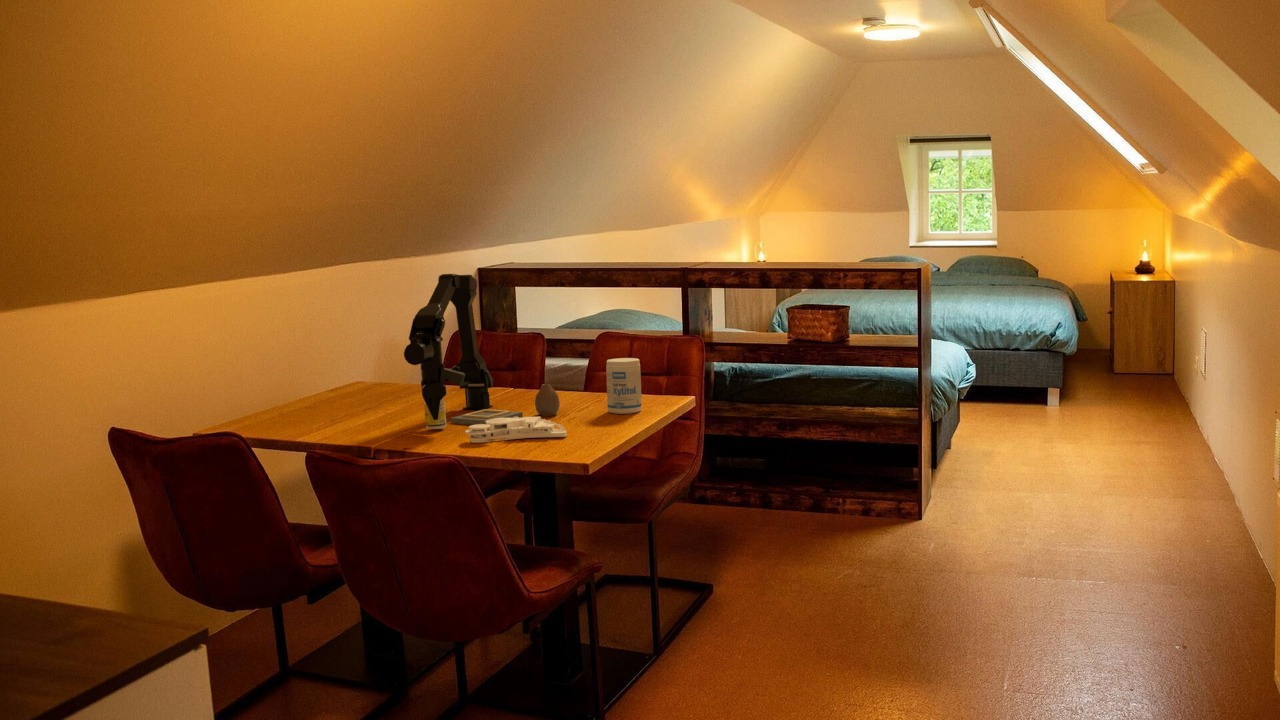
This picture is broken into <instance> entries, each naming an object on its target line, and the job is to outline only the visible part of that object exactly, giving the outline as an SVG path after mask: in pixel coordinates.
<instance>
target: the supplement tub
mask: <svg viewBox="0 0 1280 720" xmlns="http://www.w3.org/2000/svg"><path fill="white" fill-rule="evenodd" d="M605 368H606V369H605V370H606V371H605V373H606V395H607V396H606V398H607V401H606V404H607V411H608V412H609V413H611V414H615V415H616V414H617V415H619V414H620V415H629V414H630V415H631V414H633V413H634V414H635V413H639V412H640V411H641V410H642V408H643V407H642V380H641V374H642V373H641V363H640V359H639V358H636V357H620V358H619V357H618V358H611V359H610V358H609V359H606V367H605Z"/></svg>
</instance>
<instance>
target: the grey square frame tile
mask: <svg viewBox="0 0 1280 720" xmlns="http://www.w3.org/2000/svg"><path fill="white" fill-rule="evenodd" d="M501 417H505V418H513V417H519V418H522V417H524V413H523V411H512V410H504V409H503V410H501V409H489V408H486V409H482V410H475V411H472V412H469V413H468V412H467V413H465V414H461V415H458V416H457V415H456V416H454V417H450V424H456V423H457V424H458V425H468V426H472V425H476V424H486V422H485V421H487V420H490V419H494V418H501ZM457 424H456V425H457Z"/></svg>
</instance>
